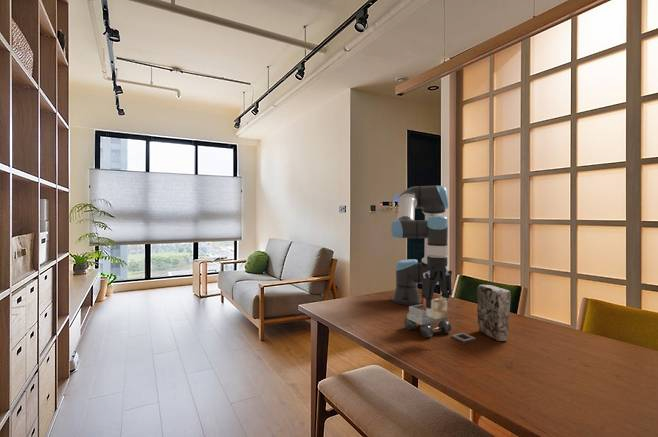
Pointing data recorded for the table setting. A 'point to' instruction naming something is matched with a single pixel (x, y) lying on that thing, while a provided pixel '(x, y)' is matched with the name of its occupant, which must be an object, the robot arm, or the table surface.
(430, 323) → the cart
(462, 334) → the collar
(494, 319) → the stone block
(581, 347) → the table surface
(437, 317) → the block
